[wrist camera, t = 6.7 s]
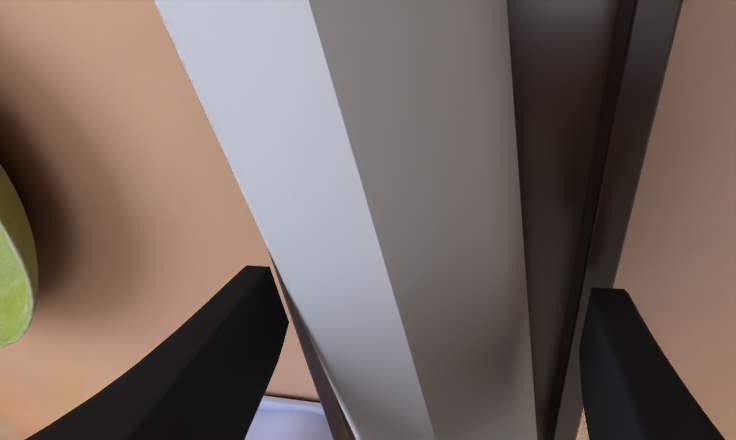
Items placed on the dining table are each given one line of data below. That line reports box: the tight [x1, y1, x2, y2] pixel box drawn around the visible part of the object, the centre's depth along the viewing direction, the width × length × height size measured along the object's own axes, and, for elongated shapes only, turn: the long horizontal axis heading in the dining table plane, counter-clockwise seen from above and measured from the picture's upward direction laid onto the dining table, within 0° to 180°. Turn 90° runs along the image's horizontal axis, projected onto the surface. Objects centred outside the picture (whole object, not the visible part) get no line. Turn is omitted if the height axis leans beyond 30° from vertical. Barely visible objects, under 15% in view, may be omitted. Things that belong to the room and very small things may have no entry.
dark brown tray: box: [268, 0, 683, 440], centre depth 14 cm, size 9×24×5 cm, turn 8°
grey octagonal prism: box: [154, 0, 537, 440], centre depth 11 cm, size 5×5×25 cm
